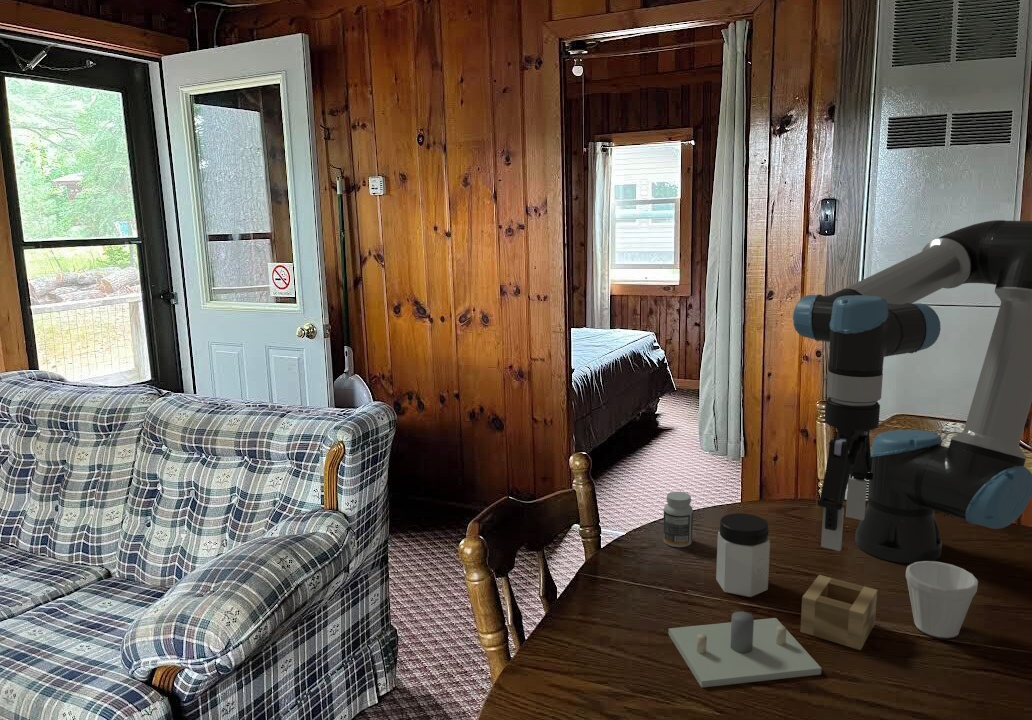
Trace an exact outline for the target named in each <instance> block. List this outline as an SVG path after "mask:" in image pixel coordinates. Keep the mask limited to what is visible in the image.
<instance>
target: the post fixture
mask: <svg viewBox="0 0 1032 720" xmlns="http://www.w3.org/2000/svg"><path fill="white" fill-rule="evenodd" d="M668 636H669V638H670V639H671V641H672V642H673V644H674V646H675V647H676V649H677V650H678V652H679V654H680V655H681V657H682V658H683V660H684V662H685V663H686V665H687V666H688V669H690V671H691V673H692V675H693V677H695V679H696V681H697V684H699V686H700V687H701V688H708V687H709V688H710V687H718V686H719V687H720V686H727V685H728V686H729V685H737V684H748V683H755V682H764V681H772V680H774V681H775V680H781V679H791V678H800V677H801V678H803V677H808V676H809V677H810V676H820V675H822V667H821V666H820V665H819V663H818V662H816V660H815V659H814V658H813V657H812V655H810V654H809V652H808V651H806V649H805V648H804V647H803V646H802V645H801V643H799V642H798V641H797V639H796V638H795V637H794V636H793V635H792V634H791V633H790V631H788V629H787V627H785V626H784V625H783V624H782V623H781V622H780V621H779V619H778V618H777V617H772V618H771V617H770V618H761V619H754V616H753V615H752V614H751V613H749V612H746V611H735V612H733V613H732V614H731V621H730V622H722V623H721V622H719V623H711V624H701V625H699V624H698V625H690V626H681V627H672V628H671V627H670V628H668Z"/></svg>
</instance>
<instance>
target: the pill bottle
mask: <svg viewBox="0 0 1032 720" xmlns="http://www.w3.org/2000/svg"><path fill="white" fill-rule="evenodd" d="M691 496H692V495H690V494H689V493H687V492H684V491H671V492H669V493H667V494H666V502H667V503H666V504H665V505H664V508H663V519H662V520H663V525H662V526H663V531H662V532H663V534H662V538H663V542H664V543H665V544H666V545H667V546H670V547H675V548H685V547H689V546H690V545H691V544H692V542H693V527H694V526H693V525H694V509H693V506H691V505H690V504H691V502H692V498H691Z"/></svg>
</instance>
